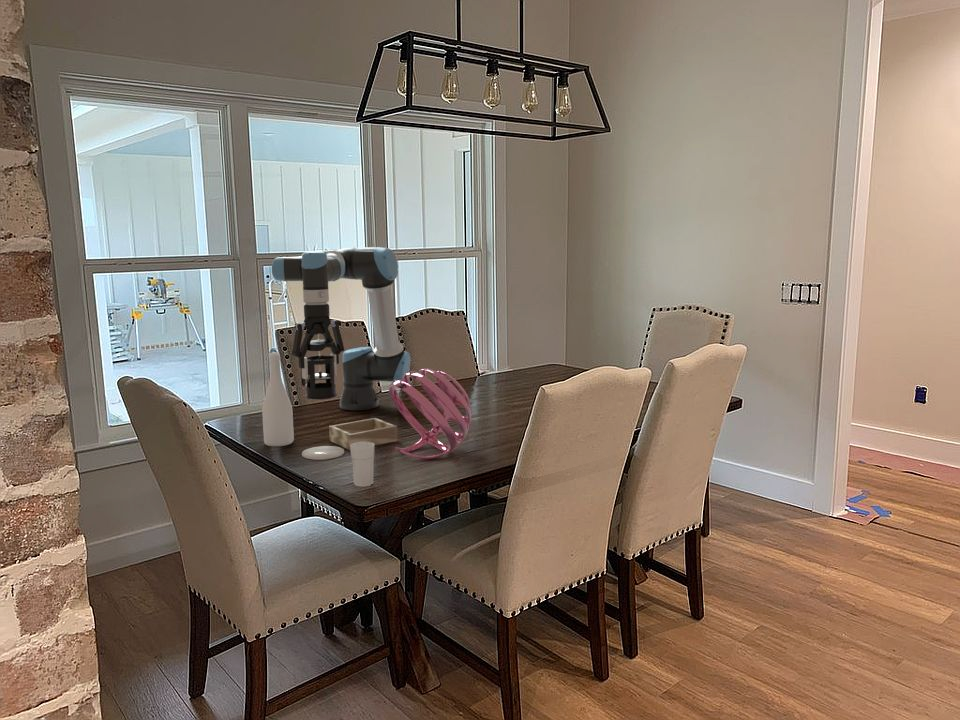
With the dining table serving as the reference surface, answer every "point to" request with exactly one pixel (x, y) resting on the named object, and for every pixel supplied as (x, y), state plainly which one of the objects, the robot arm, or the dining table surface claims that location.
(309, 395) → the french press
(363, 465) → the cup
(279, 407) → the wine bottle
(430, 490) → the dining table surface
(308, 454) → the trivet
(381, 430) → the holder
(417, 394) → the spiral basket
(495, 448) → the dining table surface
